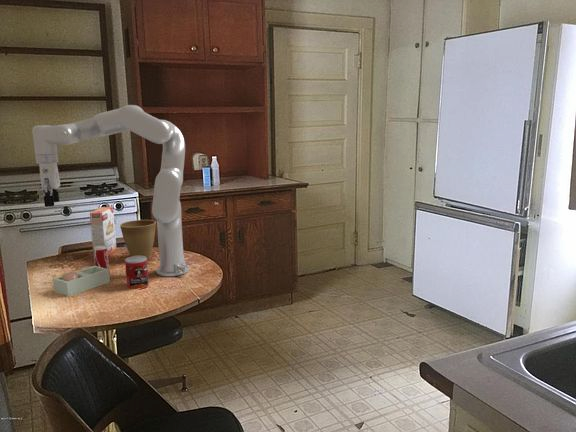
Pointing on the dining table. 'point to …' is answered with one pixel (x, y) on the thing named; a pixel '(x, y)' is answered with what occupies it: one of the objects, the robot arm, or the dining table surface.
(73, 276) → the brown egg
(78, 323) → the dining table surface
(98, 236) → the cracker box
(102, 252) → the soda can
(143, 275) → the canned food
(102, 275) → the caddy
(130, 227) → the plant pot
